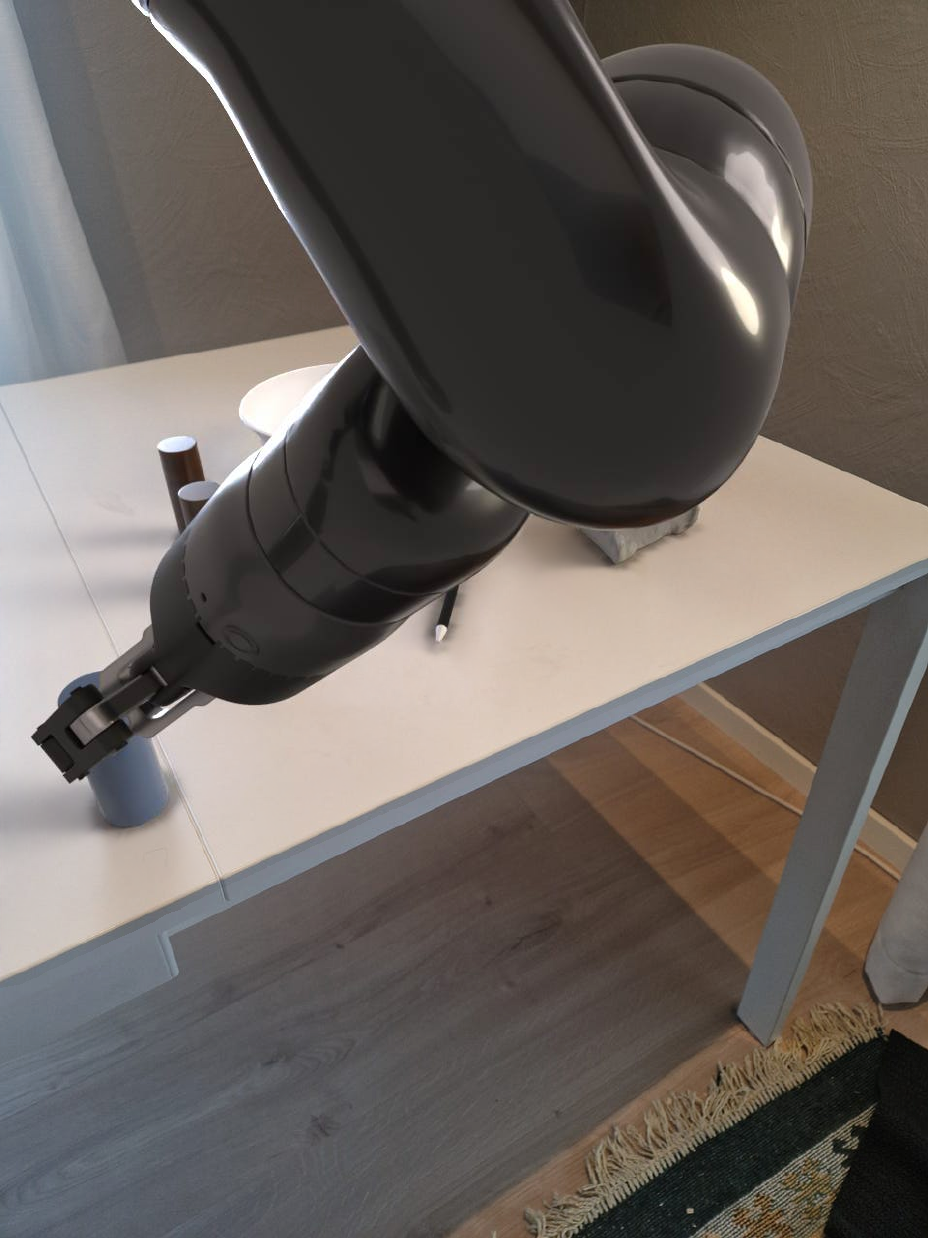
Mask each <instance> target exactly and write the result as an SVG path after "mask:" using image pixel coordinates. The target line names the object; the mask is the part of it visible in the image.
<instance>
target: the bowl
mask: <svg viewBox="0 0 928 1238" xmlns="http://www.w3.org/2000/svg"><path fill="white" fill-rule="evenodd" d="M338 363H339V362H337V363H327V364H319V365H313V366H307V367H302V368H298V369H295V370H291V371H287V372H284V373H281V374H278V375H276V376H273V377H270V378H268V379H267V380H265V381H263V382H261V383H258V384H257V385H255V386H254V387H253V388H251V389H250V390H249V391H248V392H247V393H246V394H245V395H244V397H242V398H241V402H240V404H239V408H238V413H239V414H238V415H239V419H240V420H241V421H242V423H243V425H244V426H245V427H246V428H248V429H249V430H250V431H252V432H253V433H255V435H256V436H257V438H258V440H259V442H260V443H261V445H262V447H263V446H264V445H265V444H266V443H267V441H268V440H269V439H270V438H271V437H272V435H273V434H274V433H275V432H276V431H277V429H278V428H279V427H280V426H281V425H282V423H283V422H284V421H285V420H286V419H287V417H288V416H289V415H290V414H291V413H292V411H293V410H294V409H295V408H296V406H297V405H298V404H299V403H300V402H301V401H302V400H303V398H304V397H305V396H306V395H307V393H308V392H309V391H310V390H311V389H312V388H313V387H314V386H315V385H316V384H317V383H318V382H319V381H320V380H321V379H322V378H323V377H324V376H325V375H326V374H328V373H329V372H330V371H331V370H332V369H333V368H334V367H335V366H336V365H337V364H338Z"/></svg>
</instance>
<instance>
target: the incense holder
mask: <svg viewBox="0 0 928 1238" xmlns="http://www.w3.org/2000/svg"><path fill="white" fill-rule="evenodd" d="M700 510H701V508H700V504H699V505H697V506H696V507H694V508H692V509H691V510H689V511H688V512H686V513H684V514H682V515H679V516H677V517H675V518H673V519H671V520H668V521H665V522H662V523H659V524H656V525H653V526H649V527H643V528H637V529H632V530H622V531H598V530H591V529H584V528H578V527H576V528H577V529H578V530H580V531H581V532H582V533H583V534H585V535H586V536H587V537H588V538H589V539H590V540H591V541H592V542H593V543H595V544H596V545H597V546H599V547H600V549H601V550H602V551H603V552H604V554H606V555H607V556H608V557H609V558H610V560H612V562H613V563H614V564H616V565H617V564H618V565H619V564H620V563H622V562H625V561H627V560H628V559H630V558H632V557H633V556H634V554H635V553H636V551H637V550H639V549H641V548H644V547H647V546H648V545H650V544H653V543H654V542H656V541H658V540H660V539H662V537H664V536H669V535H671V534H676V535H678V534H681V533H683V532H684V531H686V530H688V529H690V528H691V527H693V525H695V524H696V523H697V521H698V519H699V514H700V512H701V511H700Z"/></svg>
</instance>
